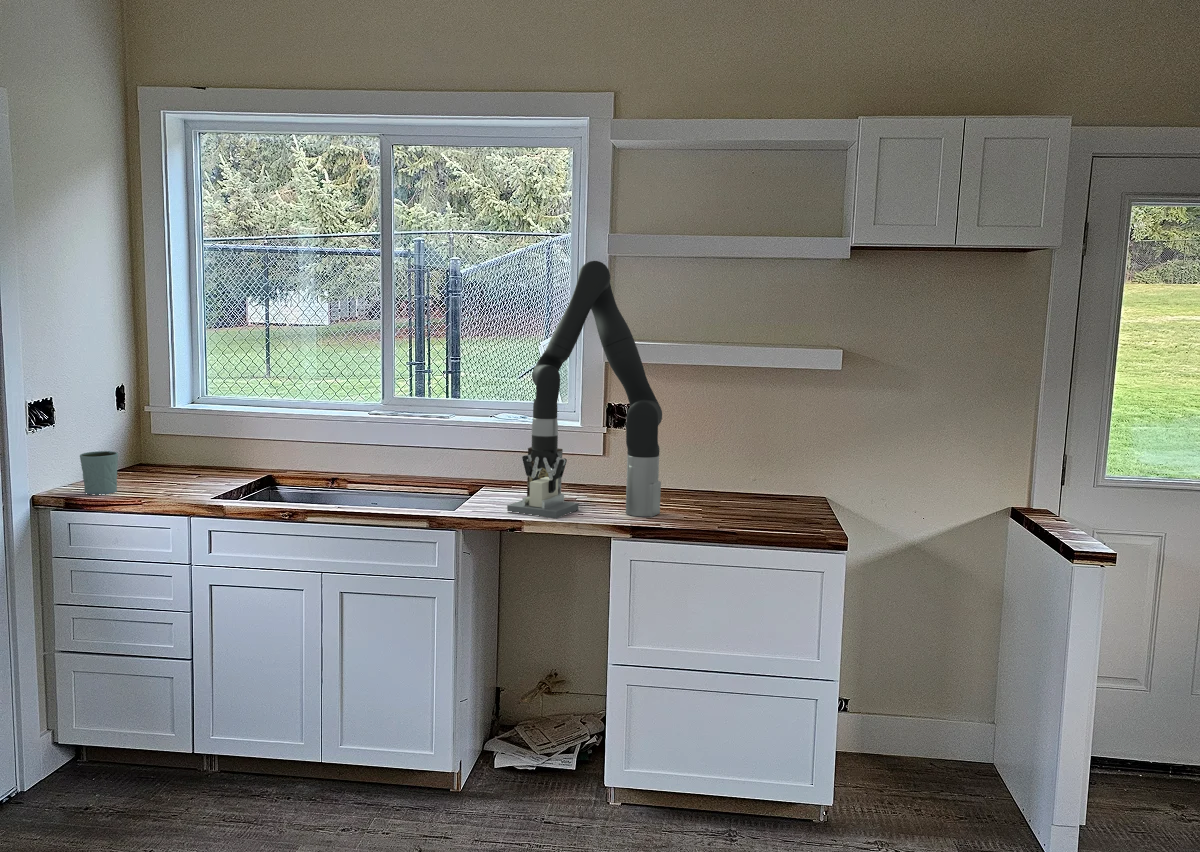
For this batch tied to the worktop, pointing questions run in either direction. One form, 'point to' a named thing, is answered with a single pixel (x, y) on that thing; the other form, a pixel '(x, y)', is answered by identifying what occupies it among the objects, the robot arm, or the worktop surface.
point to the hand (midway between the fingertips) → (543, 491)
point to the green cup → (99, 472)
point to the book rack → (545, 507)
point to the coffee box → (544, 472)
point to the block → (540, 491)
